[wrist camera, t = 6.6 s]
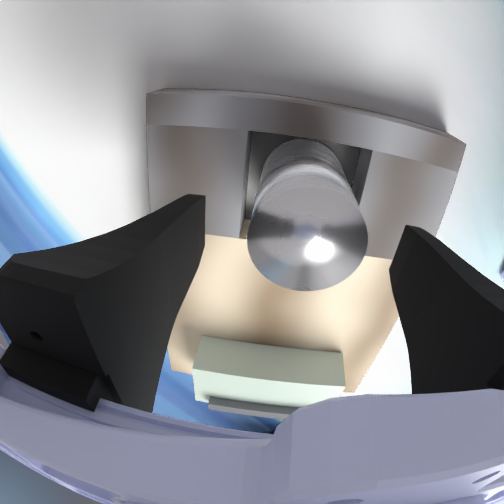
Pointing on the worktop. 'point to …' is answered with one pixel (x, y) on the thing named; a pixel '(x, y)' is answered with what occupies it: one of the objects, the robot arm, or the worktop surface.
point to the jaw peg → (305, 219)
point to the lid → (264, 377)
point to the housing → (236, 227)
